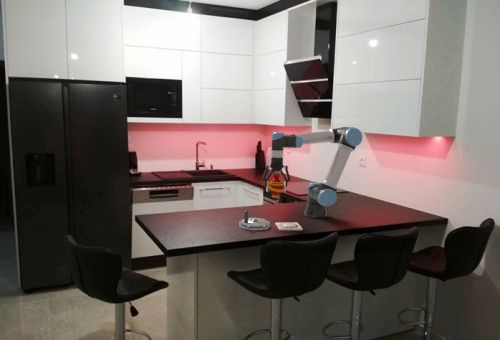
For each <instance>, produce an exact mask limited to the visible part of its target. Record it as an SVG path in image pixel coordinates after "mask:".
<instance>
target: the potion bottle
mask: <svg viewBox="0 0 500 340" xmlns="http://www.w3.org/2000/svg"><path fill="white" fill-rule="evenodd" d="M272 175H273V176H272V177H273V179H272V180H270V182H268V192H270V194H272V195H271V197H272V198H276V199H277V198H280V197H281V196H280V195H281V194H282V193H283V192H284V182H283V181H282V180H281V179H279V178H280V177H281V176H280V175H281V172H273V174H272Z"/></svg>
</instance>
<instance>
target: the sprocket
mask: <svg viewBox="0 0 500 340" xmlns="http://www.w3.org/2000/svg"><path fill="white" fill-rule="evenodd" d="M243 217H244V218H243V219H241V221H239V222H238V225H239V224H242V225H243V226H246V227H251V228H261V227H266V226H267V225H268V224H269V225H270V221H268V220H267V219H265V218H261V217H249V210H244V215H243Z"/></svg>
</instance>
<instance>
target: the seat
mask: <svg viewBox="0 0 500 340" xmlns="http://www.w3.org/2000/svg"><path fill="white" fill-rule="evenodd" d="M275 226H276V227H277V229H278V230H279V231H303V228H302V226H301V225H300V224H299V223H298V222H275Z"/></svg>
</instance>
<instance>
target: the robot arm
mask: <svg viewBox="0 0 500 340" xmlns="http://www.w3.org/2000/svg"><path fill="white" fill-rule="evenodd" d="M363 137H364V136H363V134H362V131H361V130H360V129H359V128H357V127H354V126H352V127H351V126H341V127H337V128H330V129H329V130H324V131H314V132H304V133H293V134H292V133H290V134H285V133H284V132H278V131H274V132H272V134H271V151H270V152H271V153H270V154H271V157H270V164H266V165H265V170H264V172H263V175H262V177H261V180H262V181H264V187H265V188H266V190H265V191H266V192H267V193H269V188H268V185H269V181H268V180H269V179H270V177H271V176H272V175H273V174H274V173H280V175H282V178H283V179H284V181H283V183H284V190H283V192H284V193H286V188H287V187H288V182H290V181H291V175H290V173H289V170H288V169H289V165H284V148H287V149H288V148H289V149H292V148H293V149H298V148H299V149H301V148H302V147H303V145H313V144H314V145H315V144H324V143H330V144H337V146H338V148H337V150H336V153H335V155H334V157H333V159H332V162H331V163H330V167H329V169H328V171H327V174H326V176H325V178H324V180H322V181H321V182H310V183H309V184H308V187H307V205H306V208H305V210H304V216H305V217H307V218H310V219H325V218H327V215H328V214H327V209H326V207H331V206H332V205H334V204H335V203H336V201H337V197H338V196H337V191H338V187H337V185H338V184H339V181H340V179H341V177H342V174H343V172H344V170H345V167H346V165H347V163H348V161H349V158H350V155H351V153H352V152H355V150H356V148H357V147H358V146H359V145H360V144H361V143H362V142H363ZM270 168H271V170H270V171H269V169H270ZM283 168H284V170H285V173H286V176H285V173H284V172H283ZM268 171H269V173H268ZM267 173H268V174H267Z"/></svg>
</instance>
